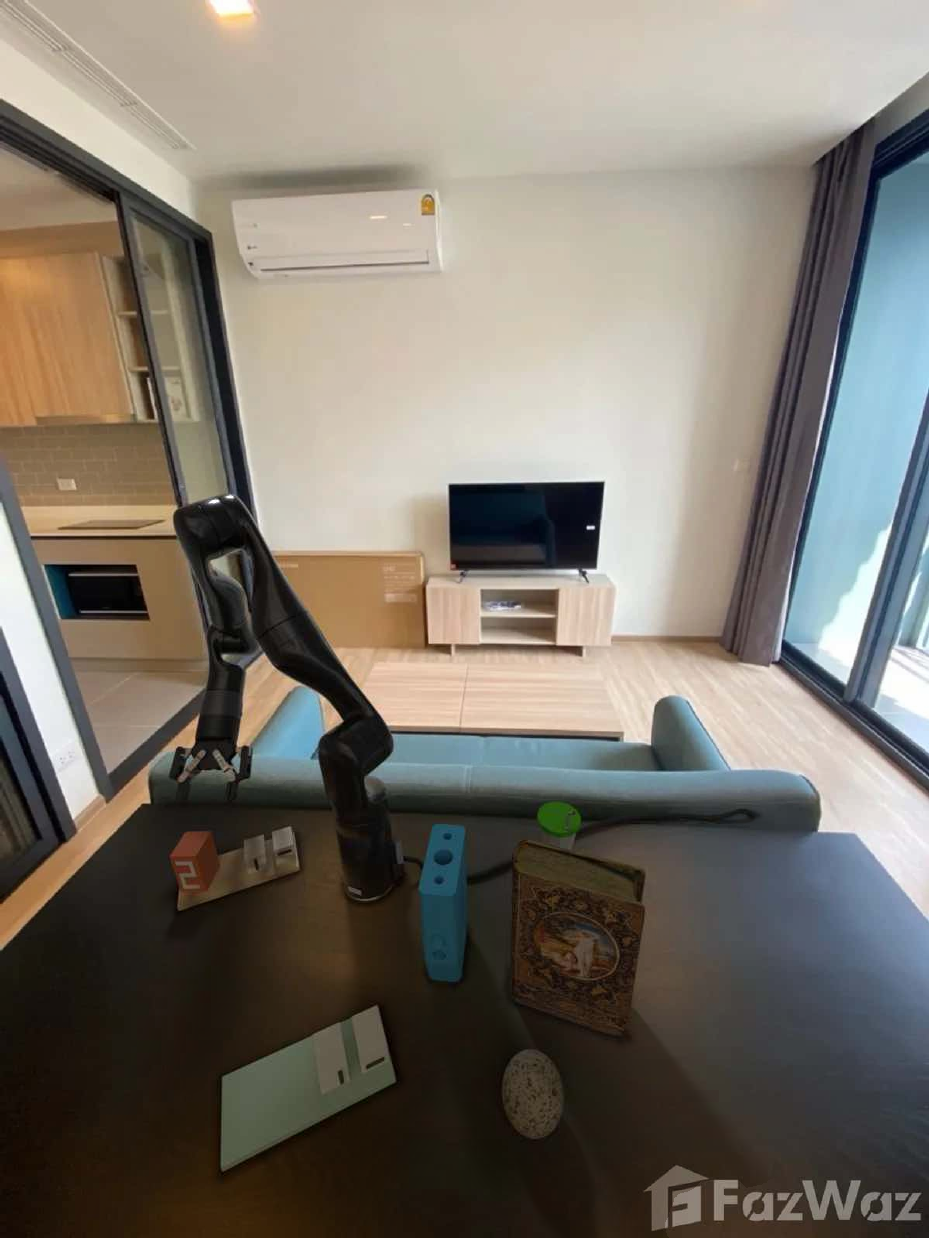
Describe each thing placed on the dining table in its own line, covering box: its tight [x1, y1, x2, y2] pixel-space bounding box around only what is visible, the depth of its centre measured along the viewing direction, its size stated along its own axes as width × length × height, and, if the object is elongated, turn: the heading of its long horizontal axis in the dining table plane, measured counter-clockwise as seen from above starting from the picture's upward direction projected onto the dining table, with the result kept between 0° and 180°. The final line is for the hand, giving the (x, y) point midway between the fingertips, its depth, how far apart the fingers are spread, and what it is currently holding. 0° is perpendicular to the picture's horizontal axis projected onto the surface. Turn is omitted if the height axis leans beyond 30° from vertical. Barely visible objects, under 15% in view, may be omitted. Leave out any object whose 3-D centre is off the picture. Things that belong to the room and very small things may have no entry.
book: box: [508, 839, 646, 1038], centre depth 66 cm, size 16×6×25 cm, turn 71°
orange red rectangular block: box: [169, 830, 220, 892], centre depth 88 cm, size 4×6×8 cm
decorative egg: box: [501, 1048, 565, 1140], centre depth 58 cm, size 7×7×10 cm
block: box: [418, 823, 468, 983], centre depth 74 cm, size 12×5×20 cm, turn 173°
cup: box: [536, 800, 582, 850], centre depth 91 cm, size 8×8×15 cm
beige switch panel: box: [176, 825, 301, 912], centre depth 92 cm, size 20×9×4 cm, turn 113°
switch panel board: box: [220, 1004, 397, 1172], centre depth 62 cm, size 20×9×4 cm, turn 113°
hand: (205, 804), depth 92 cm, fingers open, 8 cm apart
